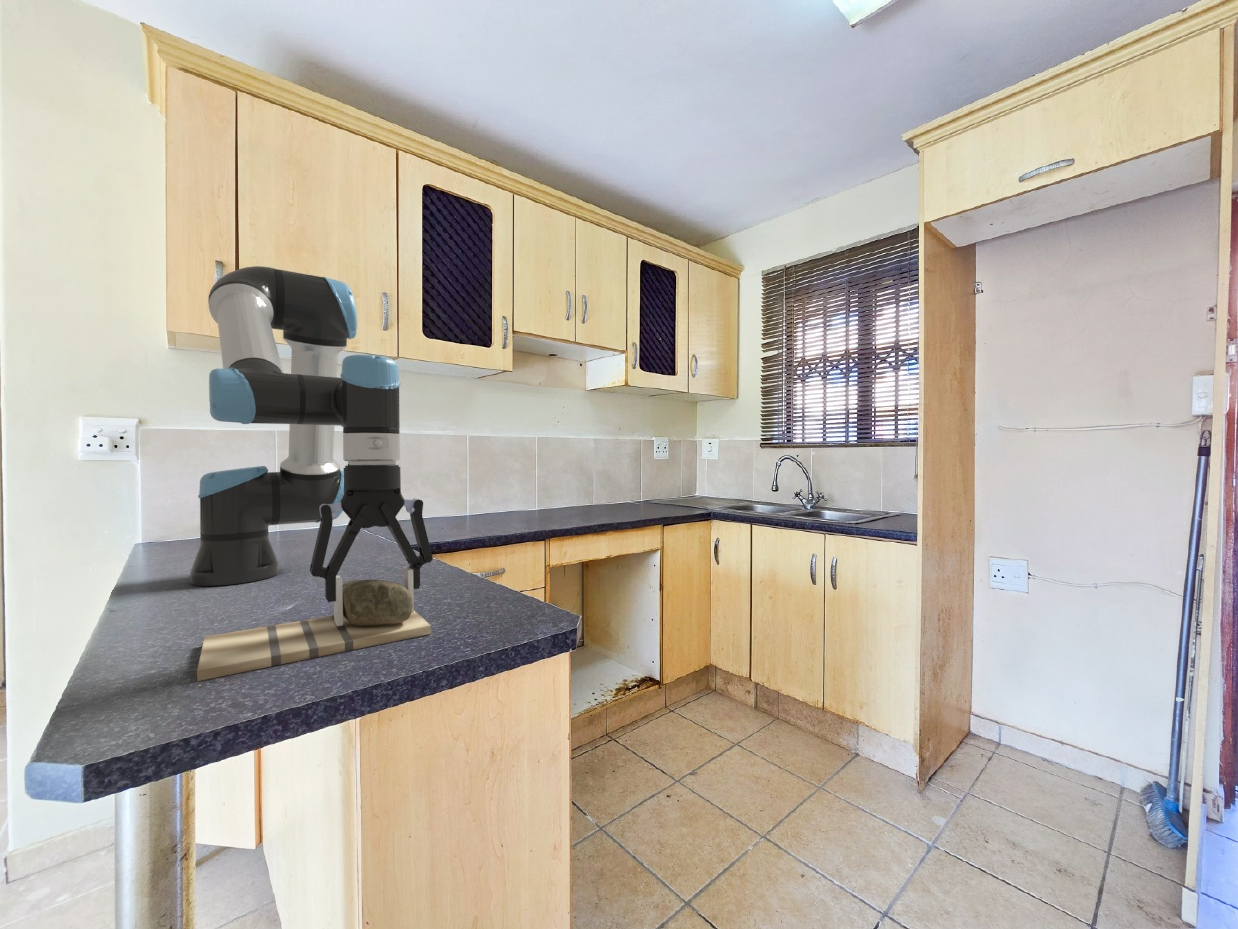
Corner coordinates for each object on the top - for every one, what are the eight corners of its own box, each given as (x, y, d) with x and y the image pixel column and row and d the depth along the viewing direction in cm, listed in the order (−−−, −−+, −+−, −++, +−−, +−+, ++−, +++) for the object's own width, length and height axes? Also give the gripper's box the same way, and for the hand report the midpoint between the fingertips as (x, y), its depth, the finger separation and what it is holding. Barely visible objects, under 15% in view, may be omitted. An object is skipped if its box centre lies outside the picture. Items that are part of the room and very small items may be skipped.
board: (204, 645, 71) (204, 636, 71) (406, 610, 86) (406, 603, 86) (197, 681, 59) (197, 670, 59) (431, 634, 74) (430, 625, 74)
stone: (354, 631, 68) (339, 559, 71) (342, 653, 78) (330, 590, 82) (421, 612, 73) (405, 547, 77) (403, 636, 84) (389, 577, 87)
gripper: (286, 465, 67) (290, 639, 67) (454, 462, 79) (456, 609, 80) (283, 464, 73) (286, 624, 73) (439, 462, 86) (441, 599, 86)
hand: (375, 616), depth 77 cm, fingers closed on stone, 9 cm apart
